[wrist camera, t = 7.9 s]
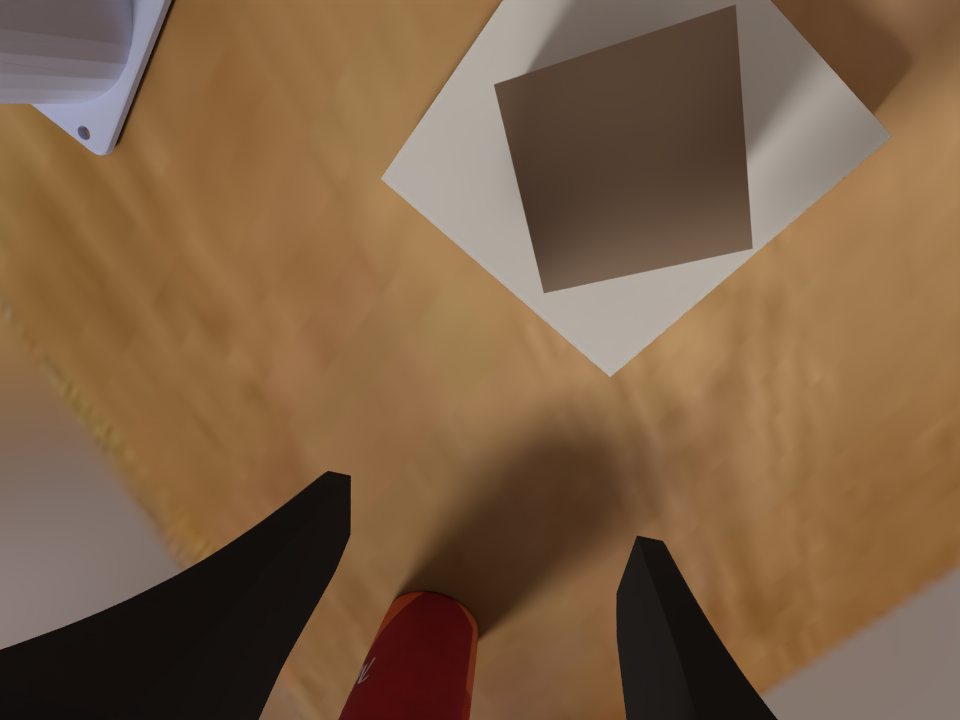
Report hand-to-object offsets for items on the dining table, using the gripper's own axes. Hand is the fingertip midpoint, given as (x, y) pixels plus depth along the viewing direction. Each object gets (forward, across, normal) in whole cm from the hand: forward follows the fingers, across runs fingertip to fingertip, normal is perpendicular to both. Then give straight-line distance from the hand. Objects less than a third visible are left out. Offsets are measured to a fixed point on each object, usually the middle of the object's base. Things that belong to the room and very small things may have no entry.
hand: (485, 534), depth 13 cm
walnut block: (+8, -2, -9) cm, 12 cm away
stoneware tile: (+10, -2, -8) cm, 13 cm away
